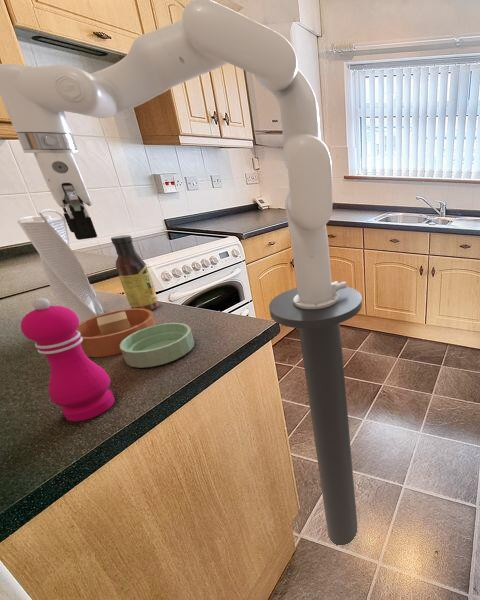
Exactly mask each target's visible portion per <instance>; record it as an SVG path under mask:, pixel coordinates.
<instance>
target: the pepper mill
mask: <svg viewBox="0 0 480 600" xmlns="http://www.w3.org/2000/svg"><path fill="white" fill-rule="evenodd" d="M32 307H33V308H34V309H33V310H31V311H30V312H28V313H26V314H25V315H24V317H23V318H22V320H21V321H20V330H21V332H22V334H23V336H25V337H26V338H27V339H28V340H31V341H34V342H35V343H34V348H36V349H37V352H38V353H39V354H41V355H44V356H45V357H46V360H47V361H48V364H49V369H50V374H49V381H48V395H49V398H50V400H51V402H52V403H53V404H54V405H56V406H59V407H62V408H61V412H62V413H63V416H64V418H65V419H66V420H67V421H69V422H72V423H73V422H74V423H75V422H83V421H87V420H90V419H94V418H96V417H97V416H100V415H102V414H103V413H105V412H106V411H108V410H109V409H110V408H111V407H112V406H113V405H114V404H115V401H116V400H115V399H116V398H115V396H114V394H113V391H112V390H111V389H109V388H110V386H111V378H110V376H109V374H108V373H107V371H106V370H105V369H104V368H103V367H102V366H100V365H98V364H97V363H95V362H94V361H92V360H91V359H90V357H87V356H86V355H85V353H84V351H83V349H82V346H81V342H82V340H83V338H82V337H81V336H80V332H78V331H76V330H77V328H78V326H79V319H78V317H77V315H76V314H75V312H73V311H72V310H71V309H69V308H66V307H62V306H61V305H51V301H50V300H49V299H47V298H45V297H38V298H35V299H34V300H33V301H32Z"/></svg>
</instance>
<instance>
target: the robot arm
mask: <svg viewBox="0 0 480 600" xmlns="http://www.w3.org/2000/svg"><path fill="white" fill-rule="evenodd" d="M227 64H230V65H232V66H233V67H236V68H239V69H240V70H242V71H243V70H244V71H245V72H248V73H249V74H252V75H253V76H254V78H255V80H256V82H258V84H259V85H261V86H262V87H263V88H264V89H266V90H268V91H269V92H270V93H271V94H272V95H273V96H274V97H275V99H276V101H277V103H278V105H279V110H280V111H279V112H280V120H281V128H282V129H281V130H282V146H283V147H282V149H283V150H282V151H283V153H282V157H283V158H282V159H283V162H284V165H285V167H286V169H287V174H288V188H289V190H288V192H287V193H286V196H285V199H284V209H285V214H286V220H287V224H288V225H287V226H288V230H289V237H290V244H291V251H292V259H293V265H294V266H293V267H294V273H295V281H296V288H297V289H298V294H297V295H296V296H295V297H294V299H293V302H294V305H295V306H297V307H299V308H302V309H321V308H326V307H329V306H331V305H333V304H335V303H336V302H337V301H338V299H339V295H338V293H337V291H338V290H339V289H343V288H346V287H348V284H347V281H342V282H339V281H338V280H336V281H333V279H332V270H331V269H332V268H331V259H330V250H329V249H330V248H329V235H328V228H327V224H328V223H329V222H330V220H331V218H332V214H333V208H334V207H333V203H334V202H333V201H334V200H333V198H334V197H333V165H332V158H331V154H330V150H329V149H328V146H327V145H326V144H325V142H323V140H321V128H320V115H319V105H318V102H317V97H316V94H315V91H314V90H313V87H312V86H311V85H312V84H310V82H309V80H308V79H307V78H306V76H305V75H304V74H303V72H302V71H301V70H300V69H299V67H298V65H299V63H298V56H297V53H296V50H295V48H294V47H293V45H292V44H291V43H290V42H289V40H288V39H287V38H286V37H285V36H283V35H282V34H281V33H279V32H277V31H275V30H274V29H272V28H270V27H268V26H266V25H264V24H262V23H259V22H257V21H256V20H253V19H252V18H250V17H248V16H246V15H244V14H242V13H240V12H238V11H236V10H235V9H232V8H230V7H227V6H225V5H224V4H221V3H219V2H217V1H214V0H190V1H189V2H188V3H187V4H186V5H185V6H184V8H183V11H182V18H181V19H180V20H177V21H175V22H173V23H170V24H168V25H164V26H162V27H160V28H157V29H154V30H151V31H149V32H146V33H144V34H140V35H139V36H137V37H136V38H135V39H134V40H133V42H132V43H131V46H130V48H129V51H128V52H127V54H126V55H125V56H124V57H123V58H122V59H120V60H119V61H117V62H115V63H113V64H112V65H110V66H107V67H105V68H102V69H99V70H97V71H94V72H91V73H90V72H88V71H86V70H84V69H82V68H79V67H76V66H73V65H68V64H67V65H63V64H55V65H45V66H32V65H31V66H30V65H24V64H17V63H0V98H1V100H2V104H3V105H4V108H5V110H6V113H7V115H8V118H9V120H10V122H11V125H12V127H13V130H14V131H15V134H16V136H17V139H18V141H19V143H20V146H21V149H22V151H23V153H24V154H27V153H28V154H33V155H34V159H35V160H36V162H37V165H38V167H39V169H40V172H41V174H42V177H43V179H44V182H45V183H46V186H47V188H48V190H49V192H50V193H51V196H52V198H53V200H54V201H55V202H56V204H57V205H58V206H59V208H62V211H63V214H62V215H63V217H64V218H65V221H66V225H67V227H68V229H69V232H71V233H73V234H74V237H75V239H76V240H79V241H81V240H88V239H95V238H98V234H97V232H96V229H95V225H94V223H93V221H92V217H91V216H90V215H89V212H88V210H87V208H86V206H85V205H87V206H88V207H92V205H93V200H92V199H91V196H90V194H89V191H88V189H87V186H86V183H85V180H84V178H83V176H82V173H81V171H80V168H79V166H78V163H77V161H76V159H75V157H74V155H73V153H74V154H78V153H80V152H79V150H78V147H77V144H76V141H75V139H74V136H73V134H72V130H71V127H70V124H69V122H68V119H67V116H66V112H67V113H72V114H77V115H83V116H88V117H92V118H97V119H106V118H107V119H108V118H112V117H115V116H117V115H120V114H122V113H124V112H127V111H129V110H131V109H135V108H137V107H139V106H141V105H143V104H145V103H147V102H149V101H150V100H152V99H154V98H156V97H158V96H159V95H160V96H161V95H163V94H164V93H166V92H167V91H168V90H170V89H172V88H174V87H176V86H180V85H181V84H184V83H186V82H188V81H190V80H193V79H195V78H197V77H200V76H203V75H205V74H208V73H210V72H213V71H214V70H217V69H219V68H222V67H224V66H227Z"/></svg>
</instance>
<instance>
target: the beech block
mask: <svg viewBox="0 0 480 600" xmlns="http://www.w3.org/2000/svg"><path fill="white" fill-rule="evenodd" d="M97 322H98V327H99V329H100V331H101V334H102V336H104V335H110V334H114V333H117V332H121V331H124V330H127V329H130V328H131V327H130V324H129V322H128V319H127V316H126V314H125V311H123V312H119V313H115V314H111V315H107V316H102V317H98V318H97Z"/></svg>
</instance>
